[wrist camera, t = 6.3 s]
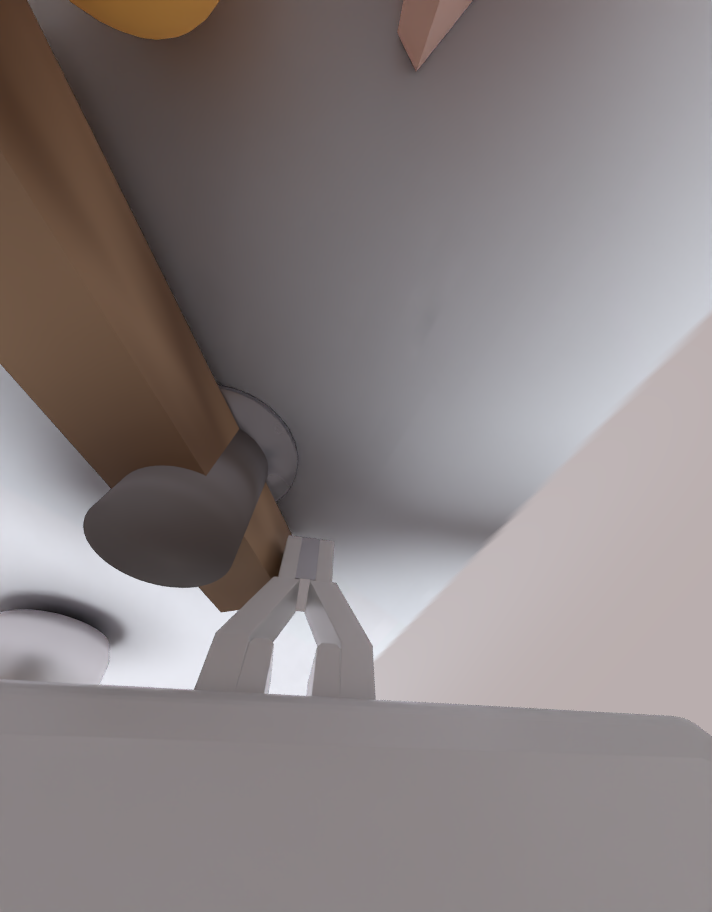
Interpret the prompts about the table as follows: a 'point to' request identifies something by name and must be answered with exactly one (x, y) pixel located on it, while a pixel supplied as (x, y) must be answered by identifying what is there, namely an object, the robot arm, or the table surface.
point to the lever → (118, 350)
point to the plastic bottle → (51, 648)
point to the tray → (427, 25)
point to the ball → (149, 15)
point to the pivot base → (266, 438)
